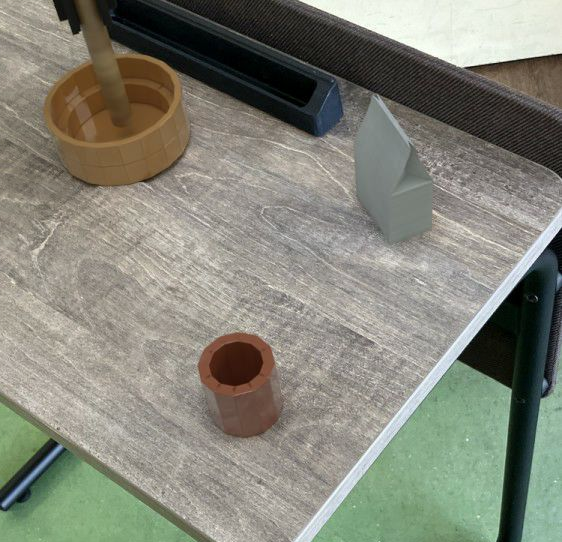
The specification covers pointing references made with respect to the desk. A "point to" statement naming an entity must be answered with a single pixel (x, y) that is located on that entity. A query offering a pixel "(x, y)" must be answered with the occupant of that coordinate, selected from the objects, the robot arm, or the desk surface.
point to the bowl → (118, 140)
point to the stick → (104, 62)
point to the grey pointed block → (391, 176)
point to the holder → (241, 384)
